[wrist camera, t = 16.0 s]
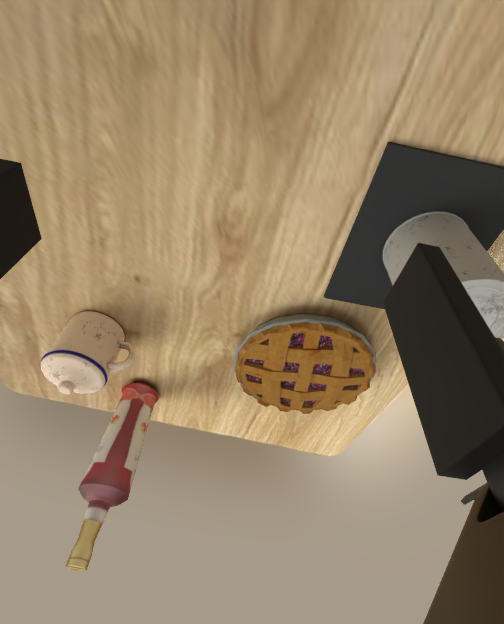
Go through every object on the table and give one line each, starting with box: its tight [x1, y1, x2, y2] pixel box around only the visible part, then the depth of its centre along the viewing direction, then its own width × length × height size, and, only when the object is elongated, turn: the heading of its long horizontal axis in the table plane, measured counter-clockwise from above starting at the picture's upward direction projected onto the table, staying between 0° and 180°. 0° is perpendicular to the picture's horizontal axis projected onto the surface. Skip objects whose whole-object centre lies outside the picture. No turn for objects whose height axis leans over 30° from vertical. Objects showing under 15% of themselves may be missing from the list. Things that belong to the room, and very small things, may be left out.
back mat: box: [324, 142, 504, 309], centre depth 41 cm, size 20×16×1 cm
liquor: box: [66, 382, 158, 570], centre depth 55 cm, size 7×7×28 cm
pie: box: [234, 314, 376, 414], centre depth 54 cm, size 22×22×5 cm
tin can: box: [383, 211, 504, 339], centre depth 36 cm, size 10×10×12 cm
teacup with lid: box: [41, 311, 135, 394], centre depth 51 cm, size 12×9×12 cm
